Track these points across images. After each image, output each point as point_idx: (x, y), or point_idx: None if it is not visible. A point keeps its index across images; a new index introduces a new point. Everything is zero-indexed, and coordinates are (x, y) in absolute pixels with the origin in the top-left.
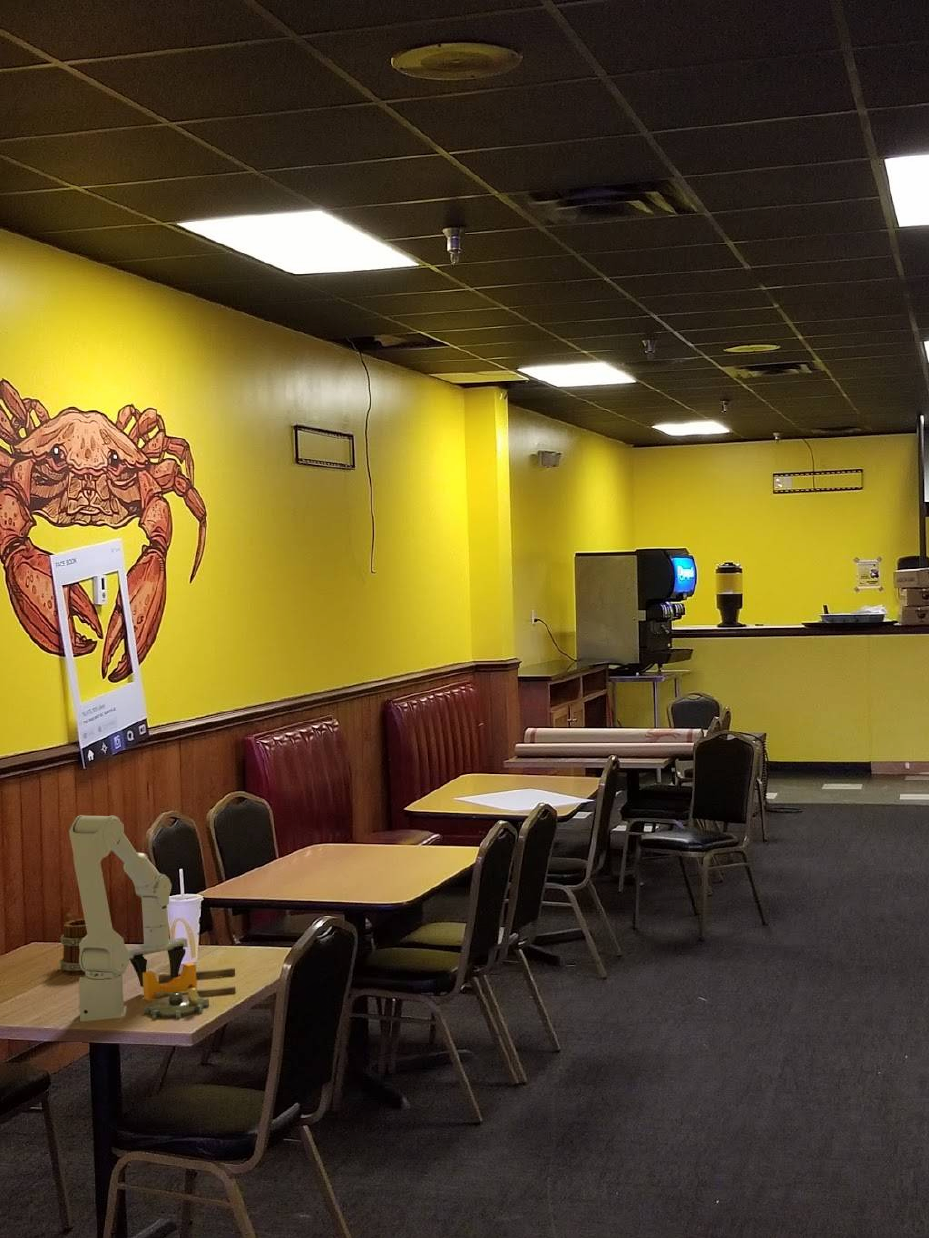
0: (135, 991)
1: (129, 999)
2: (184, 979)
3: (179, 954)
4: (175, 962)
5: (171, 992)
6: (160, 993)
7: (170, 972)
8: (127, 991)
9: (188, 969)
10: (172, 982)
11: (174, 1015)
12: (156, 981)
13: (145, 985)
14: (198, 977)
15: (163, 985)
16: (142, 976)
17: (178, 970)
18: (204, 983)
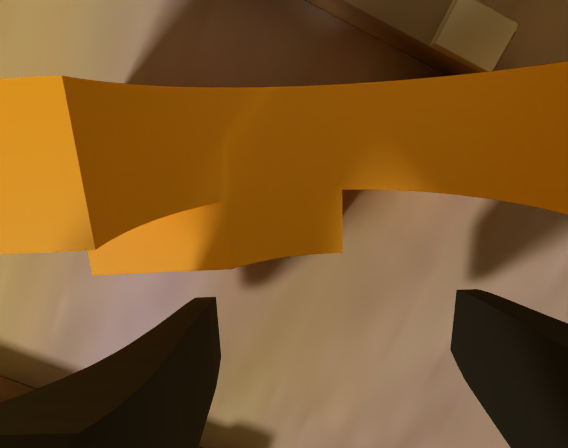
0: (437, 391)
1: (562, 253)
2: (187, 89)
3: (45, 420)
4: (160, 382)
5: (366, 10)
6: (478, 6)
7: (211, 398)
8: (470, 422)
9: (86, 81)
10: (273, 206)
11: None
12: (539, 65)
13: None
14: (13, 388)
15: (373, 174)
16: (564, 322)
17: (158, 326)
18: (12, 254)
